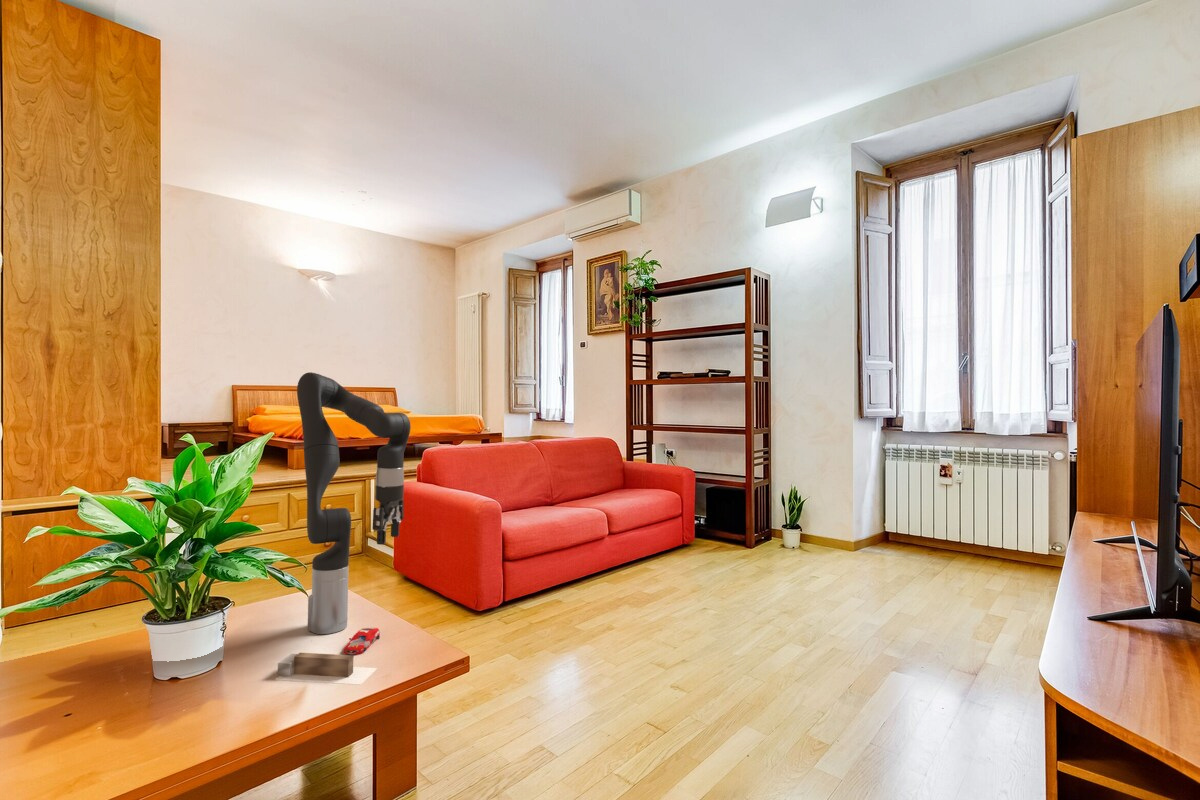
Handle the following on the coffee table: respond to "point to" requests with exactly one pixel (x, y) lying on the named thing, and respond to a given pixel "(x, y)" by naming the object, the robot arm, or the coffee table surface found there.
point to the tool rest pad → (355, 678)
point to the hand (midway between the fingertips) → (388, 540)
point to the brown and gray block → (316, 665)
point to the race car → (361, 641)
